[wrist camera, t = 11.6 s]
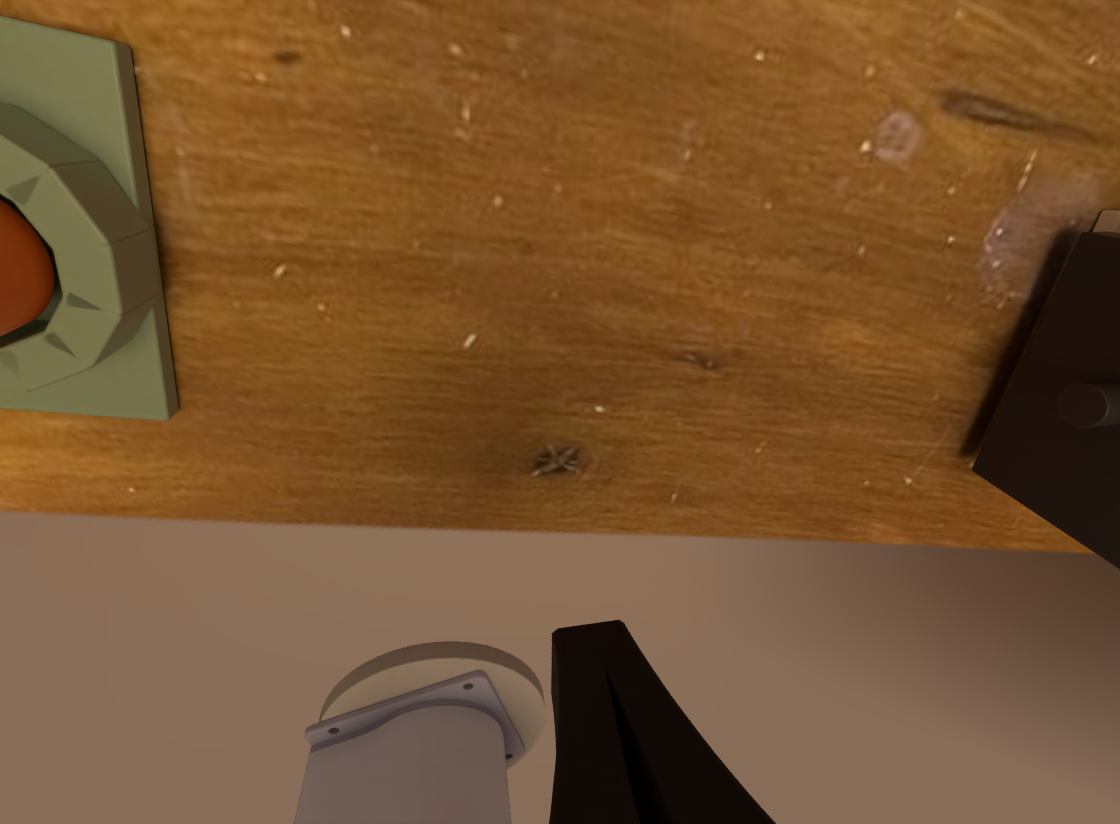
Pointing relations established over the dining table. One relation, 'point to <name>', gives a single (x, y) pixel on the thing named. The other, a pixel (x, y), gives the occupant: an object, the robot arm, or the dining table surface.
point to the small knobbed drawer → (1068, 406)
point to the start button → (22, 272)
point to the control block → (82, 229)
